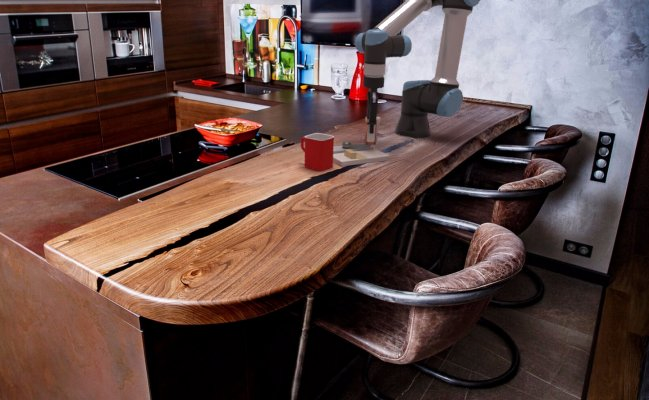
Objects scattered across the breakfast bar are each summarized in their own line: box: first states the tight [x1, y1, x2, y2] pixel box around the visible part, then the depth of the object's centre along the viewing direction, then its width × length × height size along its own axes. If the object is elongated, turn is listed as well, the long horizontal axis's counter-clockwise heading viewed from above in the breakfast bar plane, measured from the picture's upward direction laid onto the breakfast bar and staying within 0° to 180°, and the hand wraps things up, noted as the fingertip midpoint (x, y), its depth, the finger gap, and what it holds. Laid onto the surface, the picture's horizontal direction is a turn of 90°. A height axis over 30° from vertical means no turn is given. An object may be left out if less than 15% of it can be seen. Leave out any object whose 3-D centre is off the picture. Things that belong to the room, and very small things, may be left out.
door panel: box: [333, 148, 391, 167], centre depth 178 cm, size 20×10×4 cm, turn 118°
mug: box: [300, 132, 335, 172], centre depth 168 cm, size 12×8×11 cm
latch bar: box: [341, 119, 377, 148], centre depth 182 cm, size 13×4×10 cm, turn 97°
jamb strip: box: [333, 145, 375, 154], centre depth 185 cm, size 20×6×2 cm, turn 118°
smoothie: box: [365, 116, 382, 140], centre depth 202 cm, size 6×6×14 cm
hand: (370, 139), depth 183 cm, fingers open, 4 cm apart
